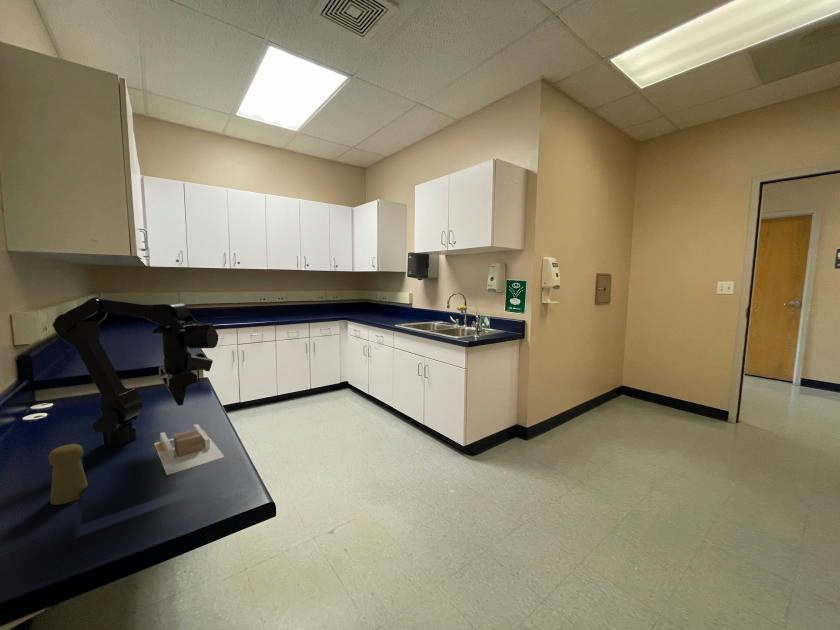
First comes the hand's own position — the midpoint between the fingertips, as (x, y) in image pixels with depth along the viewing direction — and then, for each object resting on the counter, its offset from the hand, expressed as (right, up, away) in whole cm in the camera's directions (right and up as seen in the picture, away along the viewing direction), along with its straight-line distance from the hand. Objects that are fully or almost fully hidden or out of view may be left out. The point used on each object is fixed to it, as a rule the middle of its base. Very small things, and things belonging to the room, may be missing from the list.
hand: (179, 403), depth 96 cm
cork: (-8, -14, -22) cm, 27 cm away
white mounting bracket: (+6, -12, -5) cm, 14 cm away
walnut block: (+6, -11, -5) cm, 13 cm away
